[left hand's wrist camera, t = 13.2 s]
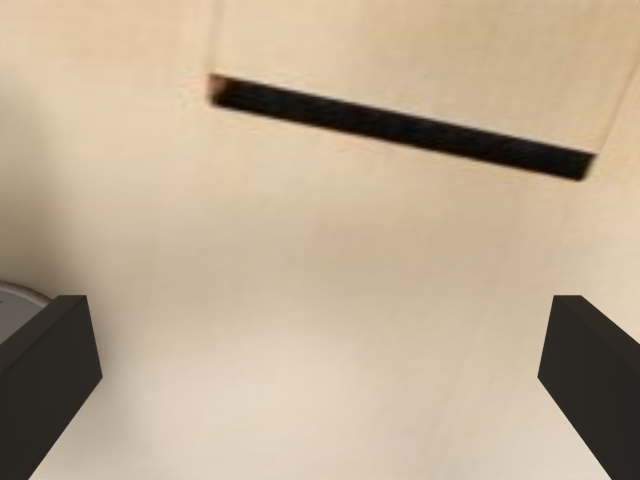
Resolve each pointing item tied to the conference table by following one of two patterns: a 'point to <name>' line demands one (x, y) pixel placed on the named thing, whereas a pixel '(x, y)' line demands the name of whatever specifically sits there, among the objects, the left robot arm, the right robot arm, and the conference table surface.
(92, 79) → the conference table surface
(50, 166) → the conference table surface
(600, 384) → the left robot arm
